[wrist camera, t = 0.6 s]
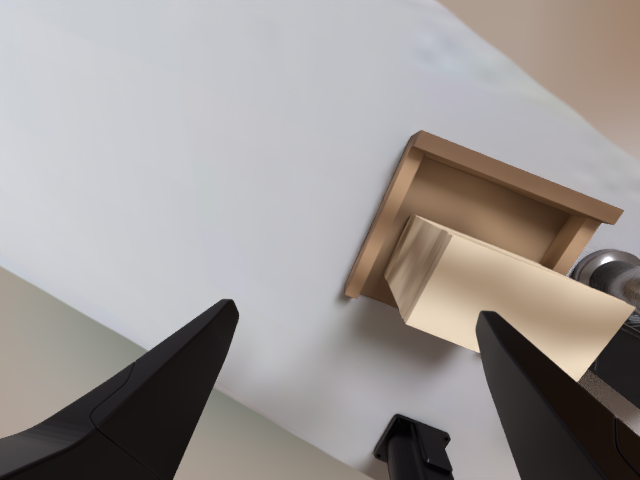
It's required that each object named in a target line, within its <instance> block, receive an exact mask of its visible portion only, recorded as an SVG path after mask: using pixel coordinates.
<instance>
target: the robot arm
mask: <svg viewBox="0 0 640 480" xmlns="http://www.w3.org/2000/svg"><path fill="white" fill-rule="evenodd" d="M238 320H239V312H238V310H237V307H236V305H235V303H234V301H233V300H232V299H222V300H220V301H219V302H217V303H216V304H214V305H213V306H212V307H210V308H209V309H207V310H206V311H205V312H203V313H202V314H200V315H199V316H198V317H196V318H195V319H193V320H192V321H191V322H189V323H188V324H186V325H185V326H184V327H182V328H181V329H179V330H178V331H177V332H175V333H174V334H172V335H171V336H170V337H168V338H167V339H165V340H164V341H162V342H161V343H160V344H158V345H157V346H155V347H154V348H153V349H151V350H150V351H148V352H147V353H146V354H144V355H143V356H141V357H140V358H139V359H137V360H136V362H133V363H131V364H130V365H129V366H127V367H126V368H124V369H123V370H122V371H120V372H119V373H117V374H116V375H114V376H113V377H111V378H110V379H109V380H107V381H106V382H104V383H102V384H101V385H99V386H98V387H96V388H95V389H93V390H92V391H90V392H89V393H87V394H86V395H84V396H82V397H81V398H79V399H78V400H76V401H75V402H73V403H71V404H70V405H69V406H67V407H65V408H63V409H62V410H60V411H59V412H57V413H56V414H54V415H53V416H51V417H50V418H48V419H46V420H44V421H43V422H41V423H39V424H37V425H35V426H33V427H32V428H29V429H27V430H25V431H22V432H20V433H17V434H14V435H11V436H8V437H5V438H1V439H0V480H173V478H174V476H175V473H176V471H177V469H178V466H179V464H180V462H181V460H182V457H183V455H184V453H185V450H186V448H187V446H188V443H189V441H190V439H191V437H192V434H193V432H194V430H195V427H196V425H197V423H198V420H199V418H200V416H201V414H202V411H203V409H204V407H205V404H206V402H207V400H208V397H209V395H210V393H211V391H212V388H213V386H214V384H215V381H216V379H217V377H218V375H219V372H220V370H221V368H222V365H223V363H224V361H225V358H226V356H227V353H228V351H229V348H230V345H231V341H232V338H233V335H234V332H235V329H236V326H237V323H238ZM475 332H476V337H477V341H478V346H479V350H480V355H481V359H482V363H483V368H484V372H485V376H486V380H487V383H488V386H489V389H490V392H491V395H492V398H493V401H494V404H495V406H496V409H497V412H498V415H499V418H500V421H501V424H502V426H503V429H504V432H505V435H506V438H507V441H508V443H509V446H510V449H511V452H512V455H513V458H514V461H515V463H516V466H517V469H518V472H519V475H520V478H521V480H640V436H638V435H637V434H636V433H635V432H634V431H633V430H631V429H630V428H629V427H628V426H627V425H626V424H624V423H623V422H622V421H621V420H620V419H619V418H615V416H614V414H613V413H612V412H611V411H609V410H608V409H607V408H606V407H605V406H604V405H603V404H601V403H600V402H599V401H598V400H597V399H596V398H595V397H593V396H592V395H591V394H590V393H589V392H588V391H586V390H585V389H584V388H583V387H582V386H581V385H580V384H578V383H577V382H576V381H575V380H574V379H573V378H572V377H570V376H569V375H568V374H567V373H566V372H565V371H564V370H562V369H561V368H560V367H559V366H558V365H557V364H556V363H554V362H553V361H552V360H551V359H550V358H549V357H547V356H546V355H545V354H544V353H543V352H542V351H541V350H539V349H538V348H537V347H536V346H535V345H534V344H533V343H531V342H530V341H529V340H528V339H527V338H526V337H525V336H523V335H522V334H521V333H520V332H519V331H518V330H517V329H515V328H514V327H513V326H512V325H511V324H510V323H508V322H507V321H506V320H505V319H504V318H503V317H502V316H500V315H499V314H498V313H497V312H495V311H487V310H482V311H480V313H479V316H478V320H477V323H476V327H475ZM399 419H400V420H399ZM450 440H451V439H450V436H449V434H448V433H447V432H444V431H441V430H439V429H436V428H434V427H431V426H429V425H426V424H423V423H421V422H418V421H416V420H413V419H411V418H408V417H405V416H403V415H400V414H397V415H395V416H394V418H393V420H392V422H391V423H390V425H389V427H388V428H387V430H386V432H385V434H384V435H383V437H382V439H381V440H380V442H379V444H378V446H377V447H376V449H375V451H374V455H375V458H377V459H379V460H382V461H384V462H387V464H388V471H389V477H390V480H454V477H453V475H452V470H453V469H452V466H451V464H450V461H449V458H448V456H447V453H446V450H445V448H446V446H447V445H448V443H449V442H450Z"/></svg>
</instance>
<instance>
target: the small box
mask: <svg viewBox="0 0 640 480" xmlns="http://www.w3.org/2000/svg"><path fill="white" fill-rule="evenodd" d="M588 369H589V370H590V371H592V372H593V373H594V374H595V375H597V376H598V377H599V378H600V379H602V380H603V381H604V382H606V383H607V384H608V385H610V386H611V387H612V388H613V389H614V390H616V391H617V392H618V393H620V394H621V395H622V396H623V397H625V398H626V399H627V400H629V401H630V402H631V403H632V404H634V405H635V406H636V407H637V408H639V409H640V316H638V315H636V314H634V313H631V315H630V316H629V317H628V318H627V320H626V321H625V322H624V323H623V325H622V326H621V327H620V329H619V330H618V331H617V332H616V334H615V335H614V336H613V337H612V339H611V340H610V341H609V342H608V344H607V345H606V346H605V348H604V349H603V350H602V351H601V353H600V354H599V355H598V356H597V358H596V359H595V360H594V362H593V363H592V364H591V365H590V367H589V368H588Z"/></svg>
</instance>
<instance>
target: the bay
mask: <svg viewBox="0 0 640 480" xmlns="http://www.w3.org/2000/svg"><path fill="white" fill-rule="evenodd" d="M623 212H624V210H622V209H619V208H617V207H614V206H612V205H609V204H607V203H604V202H602V201H599V200H597V199H594V198H592V197H589V196H587V195H584V194H582V193H579V192H577V191H574V190H571V189H569V188H566V187H564V186H561V185H559V184H556V183H554V182H551V181H549V180H546V179H544V178H541V177H539V176H536V175H534V174H531V173H529V172H526V171H524V170H521V169H518V168H516V167H513V166H511V165H508V164H506V163H503V162H501V161H498V160H496V159H493V158H491V157H488V156H486V155H483V154H481V153H478V152H476V151H473V150H471V149H468V148H465V147H463V146H460V145H458V144H455V143H453V142H450V141H448V140H445V139H443V138H440V137H438V136H435V135H433V134H430V133H428V132H425V131H423V130H421V131H419V132H417V133H416V134H414V135H412V136H411V138H410V140H409V142H408V144H407V147H406V149H405V151H404V153H403V156H402V158H401V160H400V163H399V165H398V167H397V169H396V172H395V174H394V176H393V178H392V181H391V183H390V185H389V187H388V190H387V192H386V194H385V196H384V199H383V201H382V203H381V205H380V208H379V210H378V212H377V215H376V217H375V219H374V221H373V224H372V226H371V228H370V230H369V233H368V235H367V237H366V239H365V242H364V244H363V246H362V248H361V251H360V253H359V255H358V257H357V260H356V262H355V264H354V266H353V269H352V271H351V273H350V276H349V278H348V280H347V282H346V285H345V295H348V296H350V297H353V298H355V299H357V298H358V296H359V294H363V295H365V296H368V297H371V298H373V299H376V300H378V301H381V302H383V303H386V304H388V305H391V306H394V307H396V308H399V307H398V305H397V303H396V300H395V298H394V296H393V293H392V291H391V289H390V286H389V284H388V282H387V280H386V279H385V277H384V270H385V268H386V266H387V264H388V262H389V259H390V257H391V255H392V253H393V251H394V249H395V247H396V245H397V243H398V241H399V239H400V236H401V234H402V232H403V230H404V228H405V226H406V224H407V222H408V220H409V218H410V216H411V214H415V215H417V216H420V217H422V218H425V219H427V220H430V221H433V222H435V223H438V224H440V225H443V226H445V227H448V228H450V229H453V230H455V231H458V232H460V233H463V234H466V235H468V236H471V237H473V238H476V239H478V240H481V241H483V242H486V243H488V244H491V245H493V246H496V247H499V248H501V249H504V250H506V251H509V252H511V253H514V254H516V255H519V256H521V257H524V258H526V259H529V260H532V261H534V262H536V263H538V264H541V266H544V267H546V268H548V269H550V270H553V271H555V272H557V273H559V274H562V275H564V276H565V275H566V274H567V273H568V271H569V270H570V268H571V267H572V265H573V264H574V262H575V261H576V259H577V258H578V256H579V255H580V253H581V252H582V251H583V249H584V248H585V246H586V245H587V243H588V242H589V240H590V239H591V237H592V236H593V234H594V233H595V231H596V230H597V229H598V227H599V226H600V224H601V223H605V224H611V225H614V224H615V223H616V222H617V220H618V219H619V217H620V216H621V214H622V213H623Z"/></svg>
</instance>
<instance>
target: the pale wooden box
mask: <svg viewBox="0 0 640 480" xmlns="http://www.w3.org/2000/svg"><path fill="white" fill-rule="evenodd" d="M384 277H385V279H386V280H387V282H388V284H389V286H390V289H391V291H392V293H393V296H394V298H395V300H396V303H397V305H398V307H399V310H400V311H399V312H400V315H401V317H402V319H403V320H404V321H405V324H407V325H409V326H412V327H414V328H417V329H419V330H422V331H425V332H427V333H430V334H432V335H435V336H437V337H440V338H442V339H445V340H448V341H450V342H453V343H455V344H458V345H460V346H463V347H465V348H468V349H471V350H473V351H476V352H478V353H480V350H479V346H478V341H477V337H476V332H475V327H476V323H477V320H478V316H479V313H480V311H482V310H487V311H495V312H497V313H498V314H499V315H500V316H502V317H503V318H504V319H505V320H506V321H507V322H508V323H510V324H511V325H512V326H513V327H514V328H515V329H517V330H518V331H519V332H520V333H521V334H522V335H523V336H525V337H526V338H527V339H528V340H529V341H530V342H531V343H533V344H534V345H535V346H536V347H537V348H538V349H539V350H541V351H542V352H543V353H544V354H545V355H546V356H547V357H549V358H550V359H551V360H552V361H553V362H554V363H556V364H557V365H558V366H559V367H560V368H561V369H562V370H564V371H565V372H566V373H567V374H568V375H569V376H570V377H572V378H573V379H574V380H575V381H576V382H578V381H579V379H580V378H581V377H582V375H583V374H584V373H585V372H586V370H587V369H588V368H589V367H590V365H591V364H592V363H593V362H594V360H595V359H596V358H597V356H598V355H599V354H600V353H601V351H602V350H603V349H604V348H605V346H606V345H607V344H608V342H609V341H610V340H611V339H612V337H613V336H614V335H615V334H616V332H617V331H618V330H619V329H620V327H621V326H622V325H623V323H624V322H625V321H626V320H627V318H628V317H629V316H630V315H631V313H632V312H633V311H634V310H635V308H636V307H634V306H631V305H629V304H627V303H626V302H625V301H622V300H620V299H618V298H616V297H613V296H611V295H609V294H606V293H604V292H601V291H599V290H596V289H594V288H591V287H589V286H586V285H584V284H582V283H580V282H577V281H575V280H573V279H571V278H568V277H566V276H564V275H562V274H559V273H557V272H555V271H553V270H550V269H548V268H546V267H544V266H541V264H538V263H536V262H534V261H532V260H529V259H526V258H524V257H521V256H519V255H516V254H514V253H511V252H509V251H506V250H504V249H501V248H499V247H496V246H493V245H491V244H488V243H486V242H483V241H481V240H478V239H476V238H473V237H471V236H468V235H466V234H463V233H460V232H458V231H455V230H453V229H450V228H448V227H445V226H443V225H440V224H438V223H435V222H433V221H430V220H427V219H425V218H422V217H420V216H417V215H415V214H411V216H410V218H409V220H408V222H407V224H406V226H405V228H404V230H403V232H402V234H401V236H400V239H399V241H398V243H397V245H396V247H395V249H394V251H393V253H392V255H391V257H390V259H389V262H388V264H387V266H386V268H385V270H384Z"/></svg>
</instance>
